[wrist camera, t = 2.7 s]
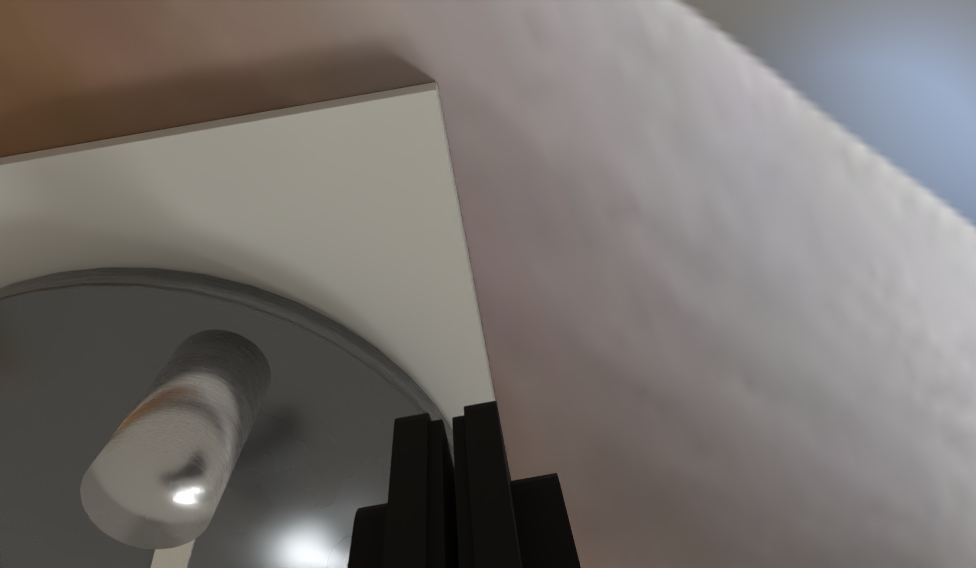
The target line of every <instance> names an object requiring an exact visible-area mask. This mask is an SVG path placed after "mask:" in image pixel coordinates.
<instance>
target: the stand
mask: <svg viewBox="0 0 976 568" xmlns="http://www.w3.org/2000/svg"><path fill="white" fill-rule="evenodd" d="M104 267H124V268H160V269H168V270H176V271H184V272H191V273H199V274H206V275H210V276H214V277H218V278H222V279H227V280H231V281H235V282H239V283H243V284H247V285H251V286H254V287H257V288H260V289H263V290H265V291H268V292H271V293H273V294H276V295H279V296H282V297H284V298H287V299H290V300H293V301H295V302H298V303H300V304H302V305H304V306H306V307H308V308H310V309H312V310H314V311H316V312H318V313H320V314H322V315H324V316H326V317H328V318H330V319H332V320H334V321H336V322H338V323H340V324H341V325H343V326H344V327H346V328H348V329H349V330H351V331H352V332H354V333H355V334H357V335H358V336H360V337H361V338H363V339H364V340H366V341H367V342H369V343H370V344H372V345H373V346H375V347H376V348H378V349H379V350H380V351H381V352H382V353H384V354H385V355H386V356H387V357H388V358H389V359H391V360H392V361H393V362H394V363H395V364H396V365H398V366H399V367H400V368H401V369H402V370H403V371H405V372H406V373H407V374H408V375H409V376H410V377H411V378H412V379H413V380H414V381H415V382H416V383H417V385H418V386H419V387H420V388H421V389H422V390H423V391H424V392H425V393H426V395H427V396H428V397H429V398H430V399H431V400H432V401H433V402H434V403H435V405H436V406H437V407H438V409H439V410H440V412H441V413H442V415H443V416H444V418H445V419H446V421H447V422H448V424H449V425H450V427H451V428H452V430H453V426H452V418H453V417H457V416H463V415H464V406H468V405H474V404H479V403H485V402H491V401H496V400H495V394H494V389H493V383H492V378H491V373H490V367H489V362H488V356H487V351H486V346H485V340H484V335H483V329H482V324H481V319H480V313H479V308H478V302H477V297H476V291H475V286H474V281H473V275H472V270H471V264H470V259H469V254H468V248H467V243H466V237H465V232H464V226H463V221H462V216H461V210H460V205H459V199H458V194H457V189H456V183H455V178H454V172H453V167H452V161H451V156H450V151H449V145H448V140H447V134H446V129H445V124H444V118H443V113H442V107H441V102H440V96H439V91H438V86H437V82H433V83H427V84H422V85H416V86H410V87H404V88H399V89H393V90H387V91H381V92H376V93H370V94H364V95H358V96H352V97H347V98H341V99H335V100H329V101H324V102H318V103H312V104H306V105H301V106H295V107H289V108H283V109H278V110H272V111H266V112H260V113H255V114H249V115H243V116H237V117H232V118H226V119H220V120H214V121H209V122H203V123H197V124H191V125H186V126H180V127H174V128H168V129H163V130H157V131H151V132H145V133H140V134H134V135H128V136H122V137H117V138H111V139H105V140H99V141H93V142H88V143H82V144H76V145H70V146H65V147H59V148H53V149H47V150H42V151H36V152H30V153H24V154H19V155H13V156H7V157H1V158H0V288H2V287H4V286H7V285H9V284H12V283H16V282H20V281H24V280H29V279H33V278H37V277H41V276H45V275H49V274H54V273H58V272H67V271H76V270H86V269H95V268H104Z"/></svg>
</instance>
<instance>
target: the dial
mask: <svg viewBox="0 0 976 568" xmlns="http://www.w3.org/2000/svg"><path fill="white" fill-rule="evenodd" d="M423 413H429V415H430V418H431V421H434V420H440V419H442V420H443V422H444V426H445V430H446V434H447V439H448V443H449V447H450V452H451V456H452V461H453V465H454V448H453V430H452V428H451V427H450V425H449V424H448V422H447V421H446V419H445V418H444V416H443V415H442V413H441V412H440V410H439V409H438V407H437V406H436V405H435V403H434V402H433V401H432V400H431V399H430V398H429V397H428V396H427V395H426V393H425V392H424V391H423V390H422V389H421V388H420V387H419V386H418V385H417V383H416V382H415V381H414V380H413V379H412V378H411V377H410V376H409V375H408V374H407V373H406V372H405V371H403V370H402V369H401V368H400V367H399V366H398V365H396V364H395V363H394V362H393V361H392V360H391V359H389V358H388V357H387V356H386V355H385V354H384V353H382V352H381V351H380V350H379V349H378V348H376V347H375V346H373V345H372V344H370V343H369V342H367V341H366V340H364V339H363V338H361V337H360V336H358V335H357V334H355V333H354V332H352V331H351V330H349V329H348V328H346V327H344V326H343V325H341V324H340V323H338V322H336V321H334V320H332V319H330V318H328V317H326V316H324V315H322V314H320V313H318V312H316V311H314V310H312V309H310V308H308V307H306V306H304V305H302V304H300V303H298V302H295V301H293V300H290V299H287V298H284V297H282V296H279V295H276V294H273V293H271V292H268V291H265V290H263V289H260V288H257V287H254V286H251V285H247V284H243V283H239V282H235V281H231V280H227V279H222V278H218V277H214V276H210V275H206V274H199V273H191V272H184V271H176V270H168V269H160V268H124V267H104V268H95V269H86V270H76V271H67V272H58V273H54V274H49V275H45V276H41V277H37V278H33V279H29V280H24V281H20V282H16V283H12V284H9V285H7V286H4V287H2V288H0V568H347V567H348V560H349V553H350V546H351V539H352V532H353V524H354V518H355V514H356V511H357V510H358V508H362V507H367V506H373V505H379V504H384V503H388V492H389V479H390V467H391V455H392V443H393V431H394V421H395V419H396V418H400V417H406V416H411V415H417V414H423Z"/></svg>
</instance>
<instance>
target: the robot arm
mask: <svg viewBox="0 0 976 568" xmlns="http://www.w3.org/2000/svg"><path fill="white" fill-rule="evenodd" d="M452 426H453V448H454V465H453V461H452V456H451V452H450V447H449V443H448V439H447V434H446V430H445V426H444V422H443V420H442V419H440V420H434V421H431V418H430V415H429V413H423V414H417V415H411V416H406V417H400V418H396V419H395V421H394V431H393V443H392V455H391V467H390V479H389V492H388V503H384V504H379V505H373V506H367V507H362V508H358V510H357V511H356V514H355V518H354V524H353V532H352V539H351V546H350V553H349V560H348V567H347V568H581V567H580V563H579V559H578V555H577V551H576V547H575V543H574V539H573V535H572V531H571V527H570V523H569V519H568V515H567V511H566V507H565V503H564V499H563V495H562V491H561V487H560V483H559V479H558V476H557V473H554V474H548V475H543V476H537V477H531V478H526V479H520V480H514V481H511V478H510V472H509V467H508V461H507V456H506V451H505V445H504V440H503V434H502V429H501V424H500V418H499V413H498V407H497V402H496V401H491V402H485V403H479V404H474V405H468V406H464V415H463V416H457V417H453V418H452Z"/></svg>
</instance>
